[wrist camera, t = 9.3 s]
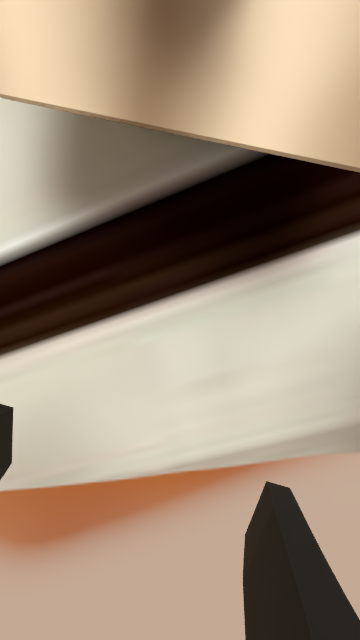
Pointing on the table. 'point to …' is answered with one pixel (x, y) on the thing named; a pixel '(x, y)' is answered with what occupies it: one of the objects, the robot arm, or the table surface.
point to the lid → (196, 69)
